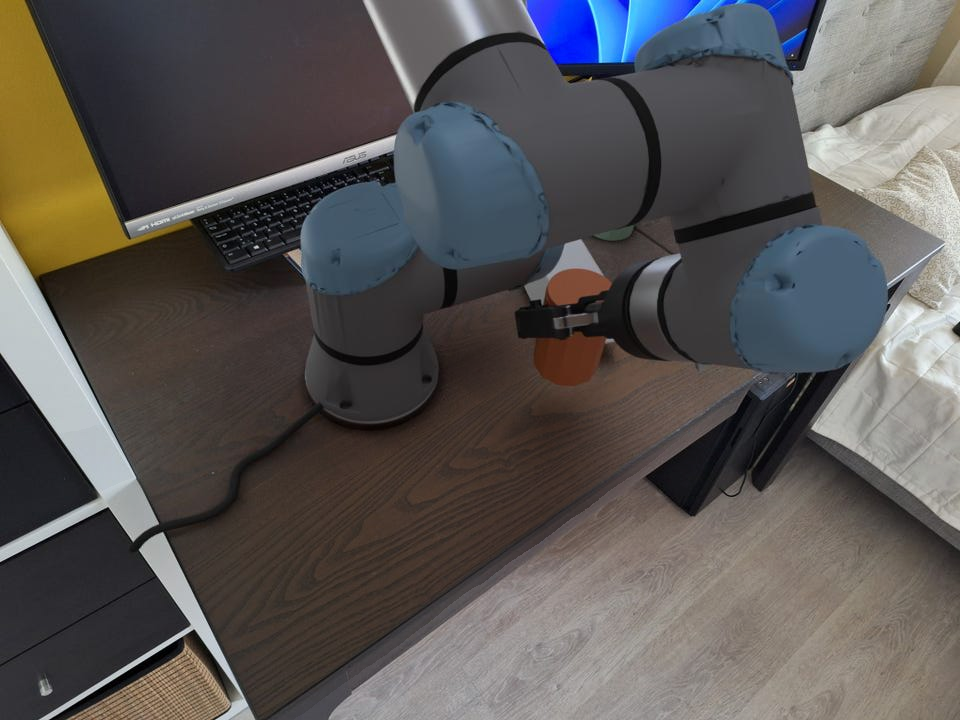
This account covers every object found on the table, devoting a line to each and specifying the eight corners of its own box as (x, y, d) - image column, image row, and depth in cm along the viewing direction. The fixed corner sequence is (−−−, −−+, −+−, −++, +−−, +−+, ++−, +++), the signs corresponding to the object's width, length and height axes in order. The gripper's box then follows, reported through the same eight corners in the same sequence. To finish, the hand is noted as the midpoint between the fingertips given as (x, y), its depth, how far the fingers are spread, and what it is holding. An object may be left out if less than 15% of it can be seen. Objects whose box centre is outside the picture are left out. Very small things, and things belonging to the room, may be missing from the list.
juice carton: (562, 263, 95) (617, 359, 83) (515, 269, 93) (564, 369, 81) (571, 221, 90) (630, 318, 78) (521, 228, 88) (574, 328, 76)
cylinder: (553, 393, 67) (570, 323, 60) (522, 349, 71) (534, 277, 64) (608, 374, 69) (631, 304, 62) (575, 332, 73) (593, 261, 66)
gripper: (551, 384, 46) (472, 365, 68) (796, 339, 50) (647, 335, 73) (536, 274, 45) (461, 292, 67) (786, 239, 50) (639, 266, 72)
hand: (558, 314), depth 70 cm, fingers closed on cylinder, 7 cm apart
